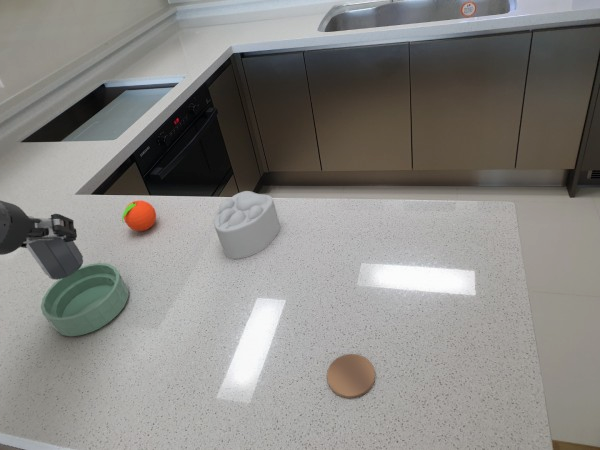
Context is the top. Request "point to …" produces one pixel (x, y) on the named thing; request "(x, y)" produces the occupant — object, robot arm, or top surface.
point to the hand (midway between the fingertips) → (54, 238)
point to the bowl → (85, 299)
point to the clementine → (139, 215)
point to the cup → (56, 257)
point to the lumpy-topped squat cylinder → (246, 224)
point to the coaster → (351, 376)
